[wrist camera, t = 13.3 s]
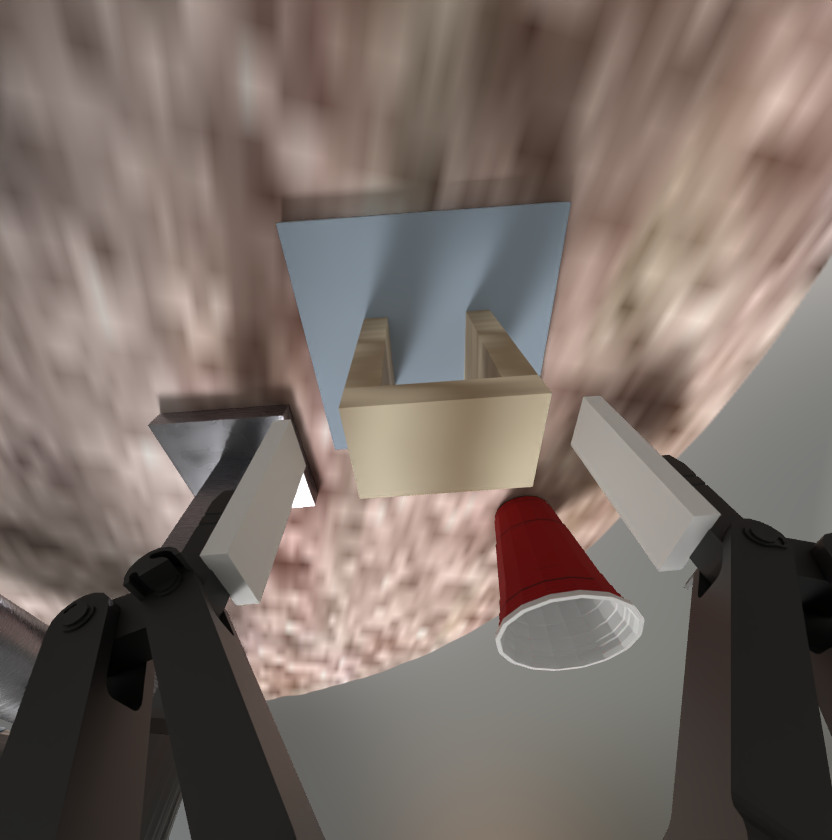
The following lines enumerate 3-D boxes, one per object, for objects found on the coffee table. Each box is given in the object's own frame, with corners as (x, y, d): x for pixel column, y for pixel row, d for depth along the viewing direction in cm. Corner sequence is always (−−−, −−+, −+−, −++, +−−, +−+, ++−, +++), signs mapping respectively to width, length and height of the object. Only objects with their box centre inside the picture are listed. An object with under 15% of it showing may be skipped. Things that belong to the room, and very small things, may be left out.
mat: (337, 441, 28) (335, 449, 27) (281, 222, 19) (275, 223, 18) (525, 428, 28) (529, 435, 27) (563, 201, 19) (570, 201, 18)
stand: (213, 500, 31) (36, 793, 16) (52, 238, 19) (-1479, 449, 3) (318, 493, 31) (240, 779, 16) (228, 225, 19) (-533, 380, 3)
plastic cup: (563, 459, 30) (643, 591, 20) (582, 525, 36) (652, 653, 26) (453, 498, 32) (476, 632, 23) (488, 554, 38) (518, 680, 28)
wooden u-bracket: (374, 387, 24) (359, 499, 15) (363, 318, 21) (338, 408, 12) (484, 379, 24) (532, 486, 15) (489, 309, 21) (551, 392, 12)
